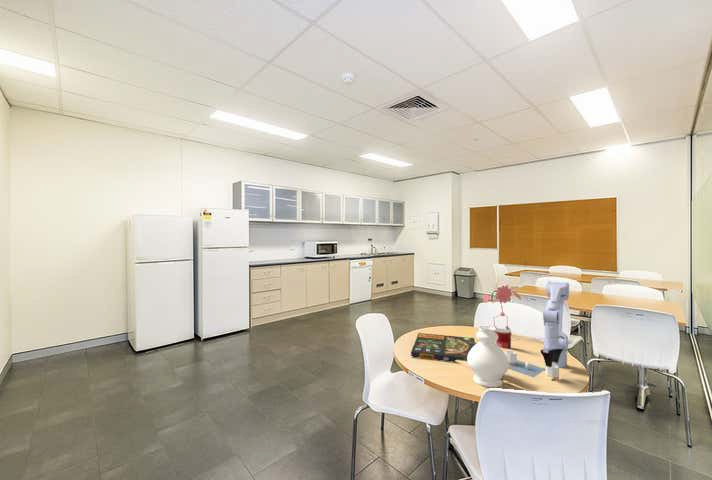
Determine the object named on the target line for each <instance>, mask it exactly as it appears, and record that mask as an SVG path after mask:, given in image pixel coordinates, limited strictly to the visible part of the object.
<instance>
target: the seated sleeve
mask: <svg viewBox="0 0 712 480" xmlns="http://www.w3.org/2000/svg"><path fill="white" fill-rule="evenodd" d="M504 354H505V355H506V357H507V359H508V362H509V365H512V366H515V365H517V360H518V359H517V352H516V351H514V350H511V349H506V350H504Z"/></svg>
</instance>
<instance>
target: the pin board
mask: <svg viewBox="0 0 712 480" xmlns="http://www.w3.org/2000/svg"><path fill="white" fill-rule="evenodd" d="M508 370H512V371H514V372H517V373H519V374H522V375H526V376H528V377H532V378H534V377H536V376H538V375H539V374H541V373H542V372H543V371H545V368H543V367H541V366H537V365H534V364H532V363H530V362H527V361H526V362H524V361H521V360H518V359H517V365H515V366H512V365H509V368H508Z"/></svg>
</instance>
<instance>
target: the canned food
mask: <svg viewBox="0 0 712 480" xmlns="http://www.w3.org/2000/svg"><path fill="white" fill-rule="evenodd" d="M510 330H511V329H510ZM510 330H508V329H506V328H497V329H496V334H497V335H498V340H497V341H496V342H495V343H496V344H497V345H498V346H499V347H500V348H501V349H507V350H511V348H512V341H511V340H512V335H511V334H512V330H511V331H510Z"/></svg>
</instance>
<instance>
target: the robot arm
mask: <svg viewBox="0 0 712 480" xmlns="http://www.w3.org/2000/svg"><path fill="white" fill-rule="evenodd" d="M545 284H546V285H545V288H546V295H547V297H548V298H549V300H547V302H546V307H545V310H543V311H542V319H543V326H544V340H543V342H544V345H543V348H542V349H540V354H541V355H542V357H543V359H544V360H543V361H544V363H545V364H546V366H548V367H552V364H555V365H557V366H558V367H559V369H560V368H565V367H566V366H569V365H568V354H567V352H568V351H569V337H568V335H567V334H566V333H565V332H563V312H564V311H563V310H564V304H565V301H568V300H569V297H570V283H569V282H563V281H562V282H559V281H549V280H548V281H547V282H546V283H545Z"/></svg>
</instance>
